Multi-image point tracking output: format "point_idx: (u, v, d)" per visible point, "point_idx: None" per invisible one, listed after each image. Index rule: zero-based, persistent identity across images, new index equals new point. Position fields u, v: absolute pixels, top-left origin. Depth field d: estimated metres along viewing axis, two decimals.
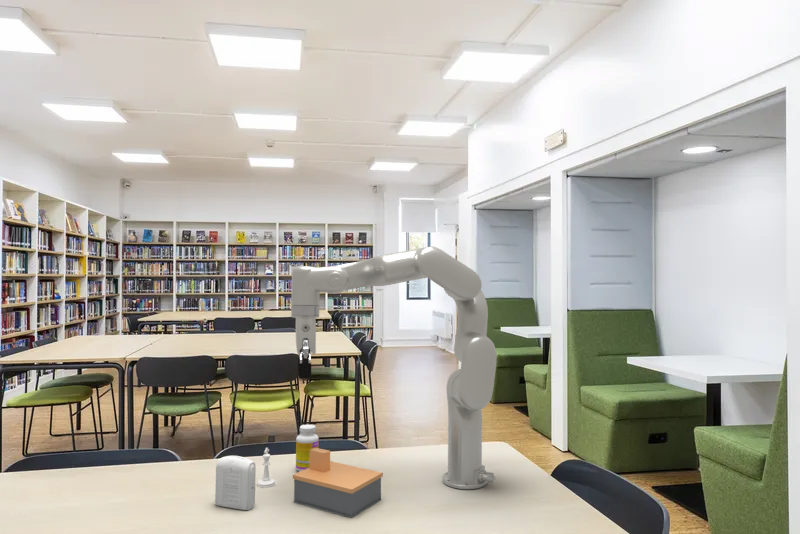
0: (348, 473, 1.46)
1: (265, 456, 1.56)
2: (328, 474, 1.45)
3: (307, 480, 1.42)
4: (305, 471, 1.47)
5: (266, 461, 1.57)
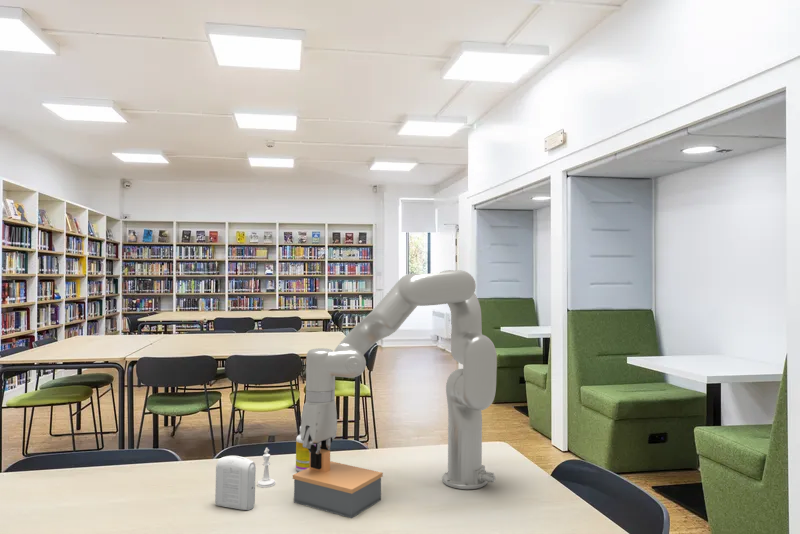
0: (348, 473, 1.46)
1: (265, 456, 1.56)
2: (328, 474, 1.45)
3: (307, 480, 1.42)
4: (305, 471, 1.47)
5: (266, 461, 1.57)
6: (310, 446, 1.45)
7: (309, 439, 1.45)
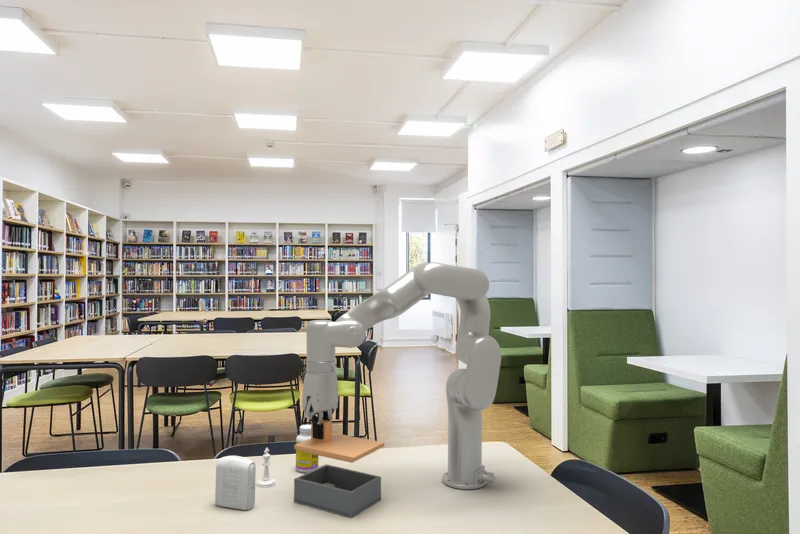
0: (350, 443, 1.46)
1: (265, 456, 1.56)
2: (330, 444, 1.45)
3: (309, 450, 1.43)
4: (307, 441, 1.48)
5: (266, 461, 1.57)
6: (312, 416, 1.45)
7: (311, 409, 1.45)
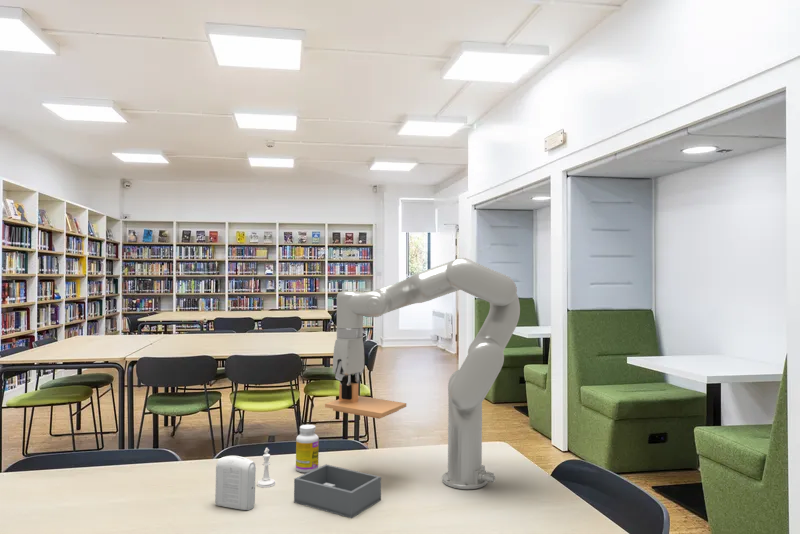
0: (375, 403, 1.61)
1: (265, 456, 1.56)
2: (357, 404, 1.60)
3: (339, 407, 1.57)
4: (336, 401, 1.62)
5: (266, 461, 1.57)
6: (342, 378, 1.59)
7: (341, 371, 1.59)
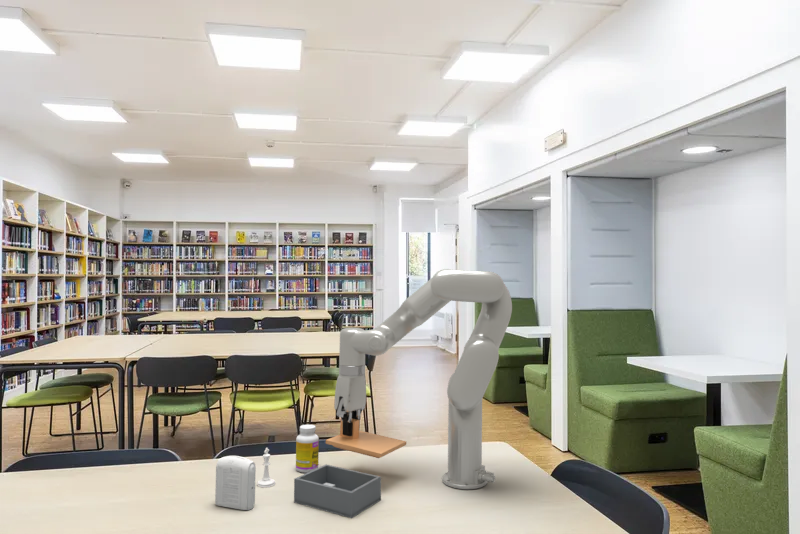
0: (375, 440, 1.62)
1: (265, 456, 1.56)
2: (358, 441, 1.61)
3: (339, 445, 1.58)
4: (336, 437, 1.63)
5: (266, 461, 1.57)
6: (343, 415, 1.61)
7: (342, 408, 1.60)
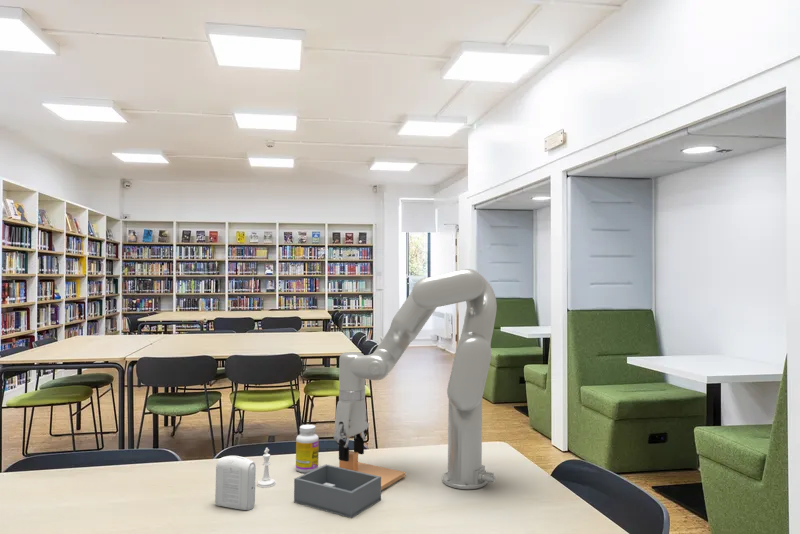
0: (375, 472, 1.62)
1: (265, 456, 1.56)
2: None
3: None
4: None
5: (266, 461, 1.57)
6: (339, 439, 1.59)
7: (342, 429, 1.60)
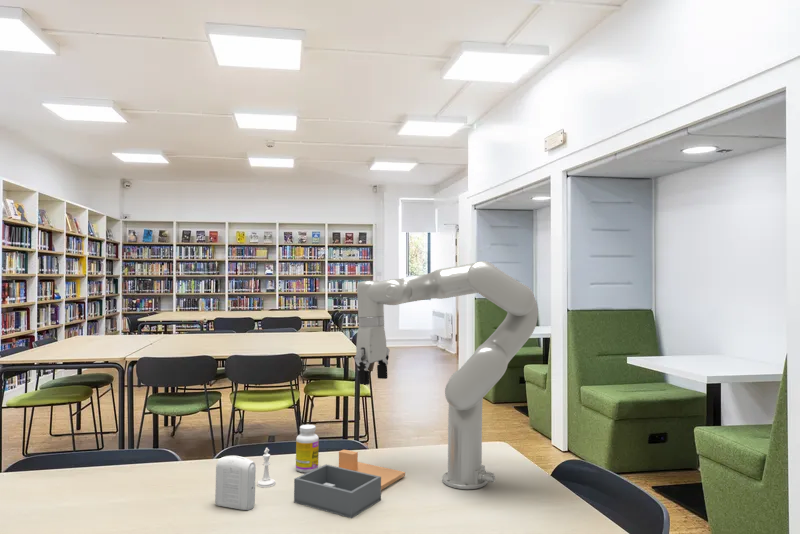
0: (374, 472, 1.62)
1: (265, 456, 1.56)
2: None
3: None
4: None
5: (266, 461, 1.57)
6: (360, 361, 1.59)
7: (363, 352, 1.61)
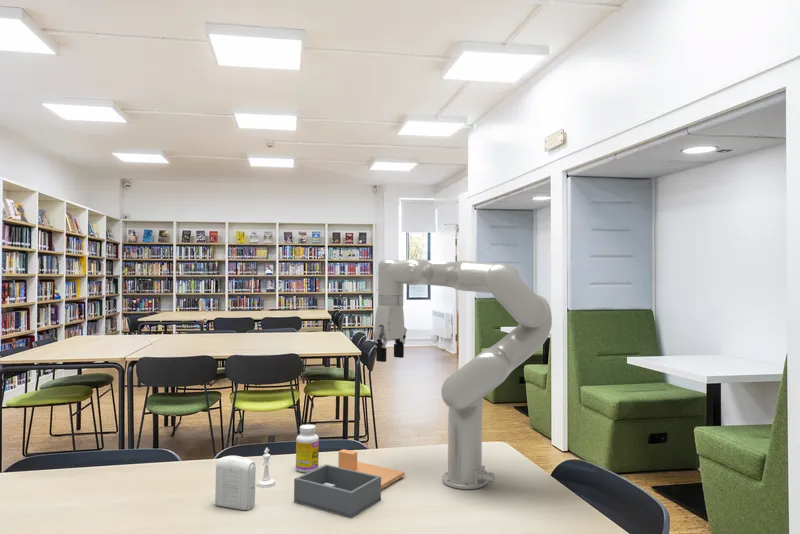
0: (374, 472, 1.62)
1: (265, 456, 1.56)
2: None
3: None
4: None
5: (266, 461, 1.57)
6: (378, 338, 1.61)
7: (382, 329, 1.63)
